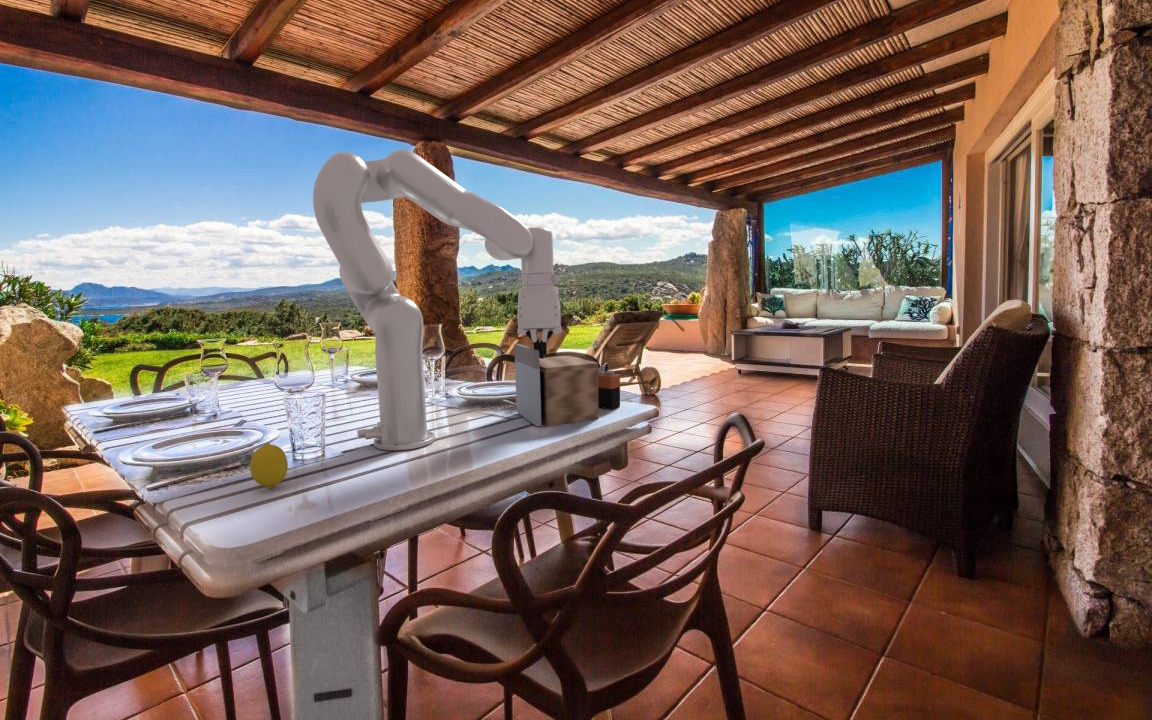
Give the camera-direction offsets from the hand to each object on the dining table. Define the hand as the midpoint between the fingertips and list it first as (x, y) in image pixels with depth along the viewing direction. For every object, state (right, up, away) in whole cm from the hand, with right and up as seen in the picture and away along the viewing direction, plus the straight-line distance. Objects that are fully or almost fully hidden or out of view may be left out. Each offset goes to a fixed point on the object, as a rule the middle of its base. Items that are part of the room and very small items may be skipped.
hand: (540, 357), depth 133 cm
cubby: (+4, -15, +7) cm, 17 cm away
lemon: (-43, -23, -39) cm, 63 cm away
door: (-3, -15, +3) cm, 16 cm away
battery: (+17, -13, +16) cm, 27 cm away
